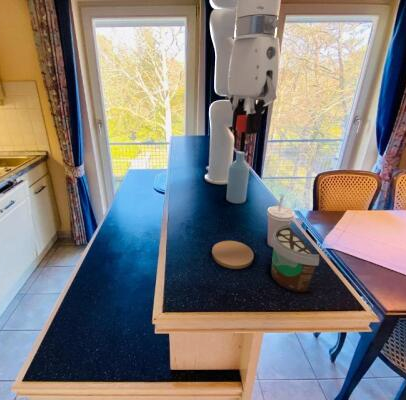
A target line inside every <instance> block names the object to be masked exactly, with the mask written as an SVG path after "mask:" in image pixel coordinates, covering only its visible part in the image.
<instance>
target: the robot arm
mask: <svg viewBox="0 0 406 400" xmlns="http://www.w3.org/2000/svg"><path fill="white" fill-rule="evenodd" d="M281 2H282V0H209V4H210V6H211V8H212V9H213V10H212V11H211V13H210V16H209V30H210V36H211V40H212V43H213V48H214V53H215V63H214V64H215V65H214V92H215V94H216V95H218V96H220V97H227V98H228V99H219V100H216V101H213V102H212V103H211V104H210V106H209V111H208V116H209V128H210V129H209V131H210V134H209V136H210V137H209V156H208V166H206V167H205V169H206V170H207V173H206V174H204V180H205V181H206V182H207V183H210V184H214V185H227V184H228V172H229V166H230V164H232V163H233V162H234V150H235V149H234V148H235V135H234V134H233V132H232V131H236V122H237V116H238V115H247V123H246V132H245V134H246V135H253V134H259V133H260V130H261V122H262V114H264V113H265V110H266V109H267V108H268V106H269V105H270V104H272V103H273V102H274V101H276V100H277V89H278V83H279V72H280V57H281V55H280V53H281V51H280V38H279V37H277V33H278V28H279V27H280V24H281V21H280V19H279V18H280V9H281ZM229 128H231V129H229ZM231 130H232V131H231Z"/></svg>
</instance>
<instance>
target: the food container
mask: <svg viewBox="0 0 406 400" xmlns="http://www.w3.org/2000/svg"><path fill="white" fill-rule="evenodd" d="M271 244H272V247H271V248H272V260H271V261H272V262H271V270H270V271H271V276H272V278H273V279H274V280H275V282H276V283H277V284H278V285H280V286H281V287H283V288H285V289H288V290H289V291H294V292H299V293H306V292H307V290H308V287H309V285H310V283H311V279H312V277H313V275H314V271H315V269H316V266H318V267H319V265H320V254H314V253H313V252H312V251H311V250H310V248H309V246H307V244H306V243H305V241H304V240H303V239H302V238H301V237H300V236H299V235H298V234H296V233H295V232H294V230H293V229H292V224H287V225H283V226H280V227H279V228H277V230H276V231H275V232H274V234H273V236H272V238H271Z"/></svg>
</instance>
